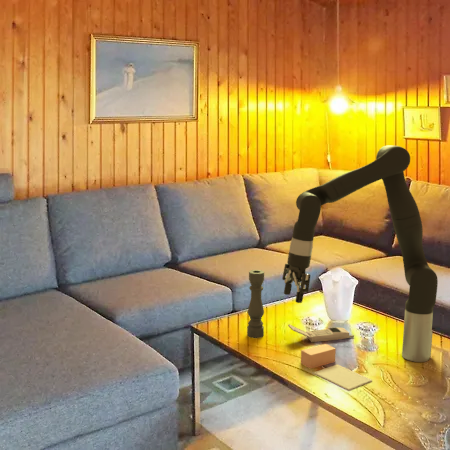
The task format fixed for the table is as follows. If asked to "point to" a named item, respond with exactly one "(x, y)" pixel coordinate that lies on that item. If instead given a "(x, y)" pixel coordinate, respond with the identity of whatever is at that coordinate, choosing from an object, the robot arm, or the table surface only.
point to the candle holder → (255, 305)
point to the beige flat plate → (342, 377)
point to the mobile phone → (324, 334)
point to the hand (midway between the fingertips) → (292, 298)
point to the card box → (318, 356)
